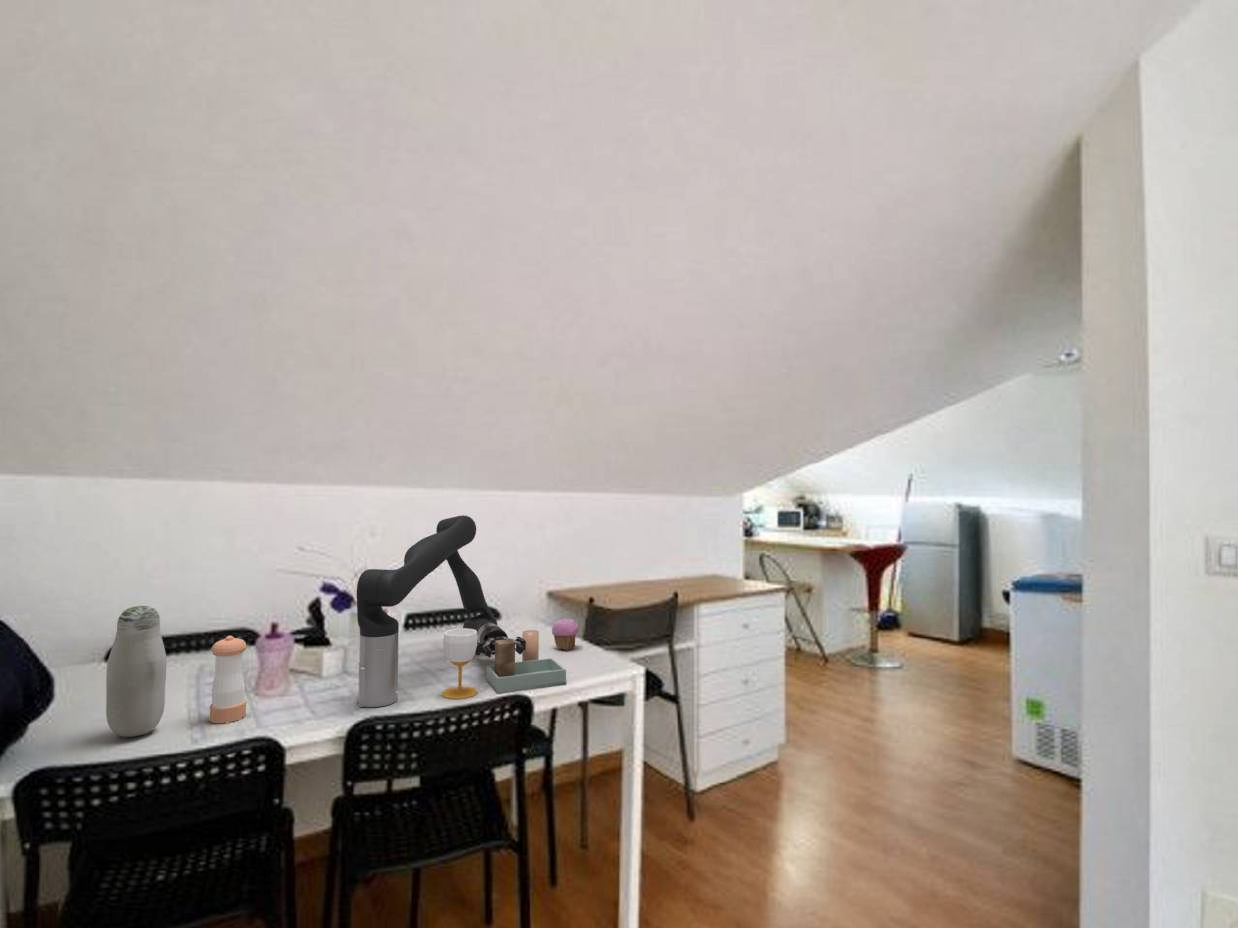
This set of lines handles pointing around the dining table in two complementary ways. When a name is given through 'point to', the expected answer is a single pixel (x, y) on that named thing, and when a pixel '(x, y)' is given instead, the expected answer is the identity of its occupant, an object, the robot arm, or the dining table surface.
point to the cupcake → (565, 633)
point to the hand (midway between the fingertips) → (505, 652)
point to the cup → (460, 658)
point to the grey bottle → (136, 673)
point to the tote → (528, 676)
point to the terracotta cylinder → (531, 645)
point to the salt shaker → (228, 681)
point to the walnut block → (505, 658)
